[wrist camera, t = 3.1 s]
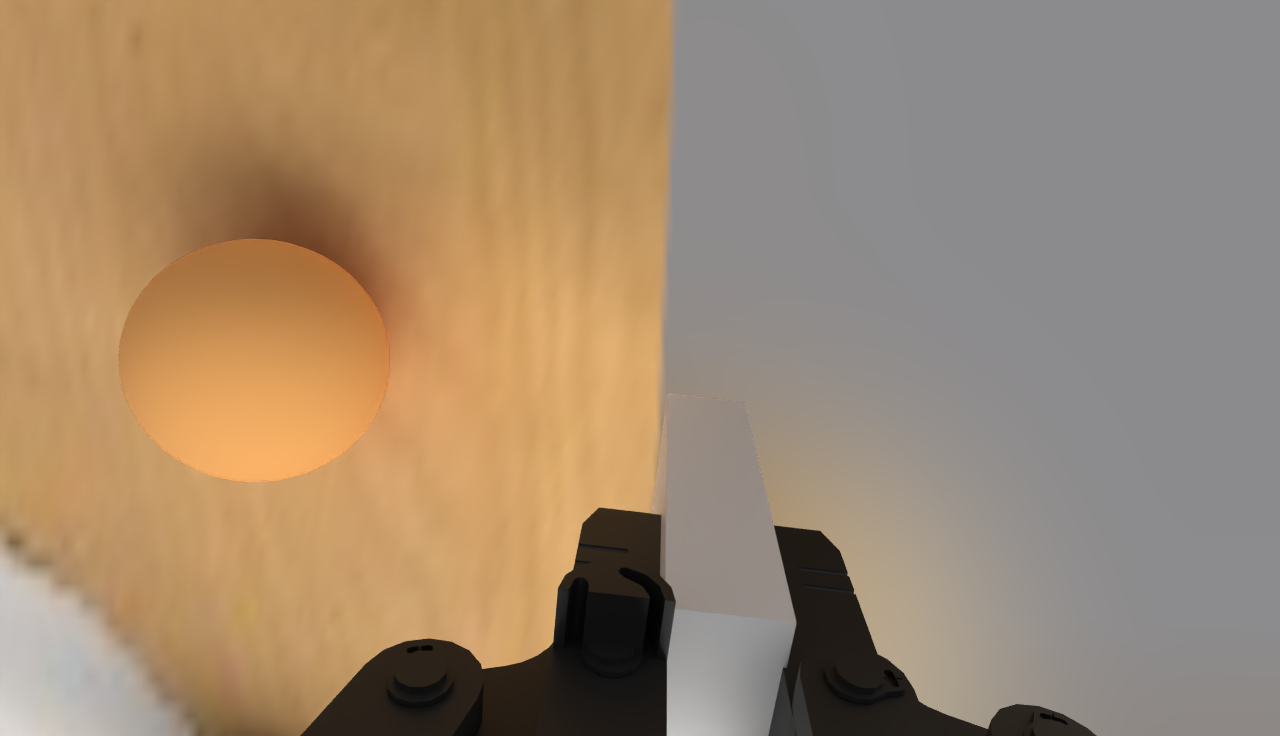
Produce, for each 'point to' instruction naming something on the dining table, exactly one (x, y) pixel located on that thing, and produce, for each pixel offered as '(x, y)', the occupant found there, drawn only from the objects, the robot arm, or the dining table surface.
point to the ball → (254, 360)
